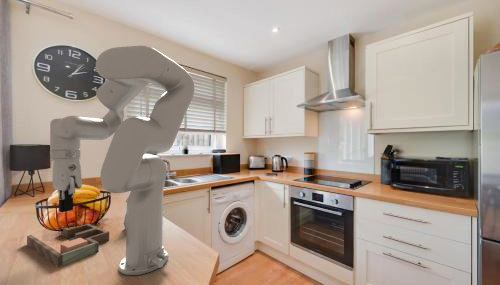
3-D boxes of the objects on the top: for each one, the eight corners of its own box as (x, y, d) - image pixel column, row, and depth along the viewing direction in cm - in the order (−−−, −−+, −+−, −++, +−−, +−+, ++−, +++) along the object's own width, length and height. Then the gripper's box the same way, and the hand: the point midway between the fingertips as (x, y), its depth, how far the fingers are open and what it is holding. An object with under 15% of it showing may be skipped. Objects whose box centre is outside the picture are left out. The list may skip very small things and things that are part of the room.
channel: (118, 243, 71) (118, 235, 71) (57, 267, 57) (58, 256, 57) (82, 228, 84) (82, 221, 84) (26, 244, 71) (27, 235, 71)
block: (87, 253, 65) (87, 240, 65) (67, 261, 61) (68, 247, 61) (79, 249, 67) (80, 237, 67) (60, 257, 63) (60, 243, 63)
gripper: (89, 154, 68) (90, 210, 67) (70, 155, 75) (70, 205, 75) (60, 155, 61) (60, 217, 61) (42, 156, 69) (42, 211, 68)
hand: (66, 210), depth 68 cm, fingers closed
